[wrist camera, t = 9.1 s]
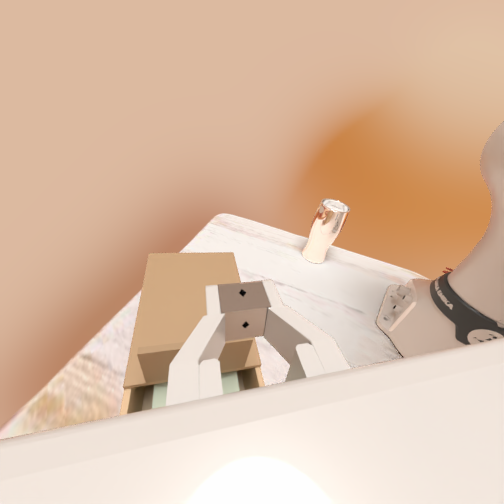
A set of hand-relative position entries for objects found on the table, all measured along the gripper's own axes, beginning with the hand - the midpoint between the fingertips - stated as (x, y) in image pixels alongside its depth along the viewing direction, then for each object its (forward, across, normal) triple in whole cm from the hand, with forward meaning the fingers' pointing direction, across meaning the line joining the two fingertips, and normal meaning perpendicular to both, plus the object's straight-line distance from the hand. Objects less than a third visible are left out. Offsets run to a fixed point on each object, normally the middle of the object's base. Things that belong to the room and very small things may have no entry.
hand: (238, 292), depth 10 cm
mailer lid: (+15, +3, +16) cm, 23 cm away
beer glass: (+35, -26, +26) cm, 51 cm away
